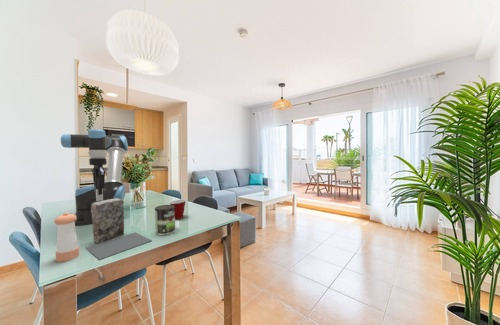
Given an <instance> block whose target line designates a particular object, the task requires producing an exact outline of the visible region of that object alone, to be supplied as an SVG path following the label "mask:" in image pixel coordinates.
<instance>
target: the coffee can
mask: <svg viewBox="0 0 500 325" xmlns="http://www.w3.org/2000/svg"><path fill="white" fill-rule="evenodd" d="M154 210H155V211H154V218H155V220H154V222H155V235H158V236H166V235H171V234H173V233H174V232H176V219H175V206H174V205H170V204H163V205H157V206H155V207H154Z"/></svg>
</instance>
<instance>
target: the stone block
mask: <svg viewBox="0 0 500 325" xmlns="http://www.w3.org/2000/svg"><path fill="white" fill-rule="evenodd" d="M124 210H125V208H124V200H121V199H118V198H114V199H108V200H103V201H99V202H94V203H92V204H91V214H92V222H93V223H92V234H93V242H94V243H95V244H99V243H102V242H105V241H108V240H112V239H115V238H118V237H122V236H125V235H124V234H125V216H124V215H125V212H124Z"/></svg>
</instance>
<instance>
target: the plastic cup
mask: <svg viewBox="0 0 500 325" xmlns="http://www.w3.org/2000/svg"><path fill="white" fill-rule="evenodd" d="M186 201H187V200H186V199H176V200H171V201H169V202H168V203H169V205H174V206H175V220H181V218H182V219H183V218H184V213H185V205H186Z"/></svg>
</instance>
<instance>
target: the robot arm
mask: <svg viewBox="0 0 500 325" xmlns="http://www.w3.org/2000/svg"><path fill="white" fill-rule="evenodd" d="M60 144H61V146H62V147H63V148H69V149H88V152H87V154H88V157H89V159H88V161H89V162H88V163H89V165H90V166H93V168H92V170H91V173H92V178H93V180H92V181H93V184H91V185H88V186H83V187H78V188H77V189H75V195H74V198H75V214H74V215H76V217H77V219H76V221H74V222H75V226H87V225H93V222H92V214H91V204H92V203H94V202H99V201H103V200H108V199H114V198H118V199H121V200H123V201H124V199H125V197H126V189H127V188H126V186H125V185H124V184H123V182H122V175H123V174H122V173H123V172H122V171H123V158H124V155H125V154H126V152H127V151H129V144H128V139H127V137H126V136H124V135H107V134H106V131H105V130H104V129H98V128H97V129H94V128H93V129H92V128H91V129H88V131H87V134H74V133H73V134H70V133H68V134H67V133H66V134H62V135H61V136H60ZM107 153H108V161H107ZM107 162H108V164H107ZM106 165H107V173H106V170H105V169H104V166H106ZM105 176H106V178H105ZM105 180H106V181H105Z"/></svg>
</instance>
